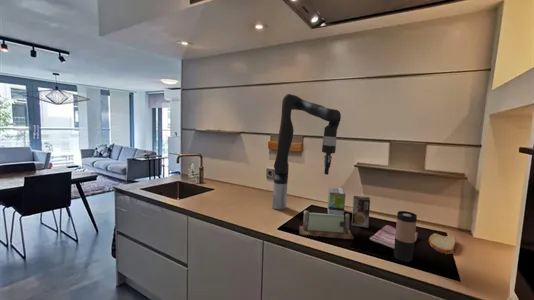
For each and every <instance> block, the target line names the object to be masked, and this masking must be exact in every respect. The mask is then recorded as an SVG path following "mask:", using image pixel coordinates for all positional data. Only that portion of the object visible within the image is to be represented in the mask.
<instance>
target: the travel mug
mask: <svg viewBox="0 0 534 300" xmlns="http://www.w3.org/2000/svg"><path fill="white" fill-rule="evenodd" d="M417 218H418V215H417V214H416V213H414V212H411V211H405V210H400V211H397V216H396V223H395V225H396V226H395V229H396V232H395V245H394V249H393V257H394V258H395V259H396V260H398V261H400V260H401V262H404V261H405V262H406V263H409V262H410V261H411V262H412V261H413V255H414V249H415V242H416V241H415V232H416V233H417V231H416V230H417V221H418V219H417ZM405 262H404V263H405Z"/></svg>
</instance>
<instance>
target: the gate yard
mask: <svg viewBox="0 0 534 300" xmlns="http://www.w3.org/2000/svg"><path fill="white" fill-rule="evenodd" d="M309 213H310V212H309V210H304V211H303V221H302V222H303V223H302V225H299V227H298V228H299V236H307V235H308V236H309V235H310V236H311V237H319V236H320V237H323V238H334V239H344V240H345V239H346V240H354V239H355V238H354V235H353V234H352V232H351V230H350V229H349V228H350V227H349V226H350V216H351V215H350V214H349V213H345V215H344V222H340V227H343V233H341V232H328V231H316V230H308V222H309ZM310 236H309V237H310Z"/></svg>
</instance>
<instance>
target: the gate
mask: <svg viewBox="0 0 534 300" xmlns="http://www.w3.org/2000/svg"><path fill="white" fill-rule="evenodd" d="M340 222H345V214H344V215H336V214H328V213H320V212H309V213H308V230H316V231H328V232H341V233H343V229H344V227H340Z"/></svg>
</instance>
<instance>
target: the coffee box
mask: <svg viewBox="0 0 534 300" xmlns="http://www.w3.org/2000/svg"><path fill="white" fill-rule="evenodd" d="M352 201H353V202H352V215H351V216H352V218H351V226H355V227H362V228H369V226H370V225H369V224H370V222H369V221H370V206H371V205H370V204H371V197H369V196H361V195H360V196H359V195H353V199H352Z"/></svg>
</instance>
